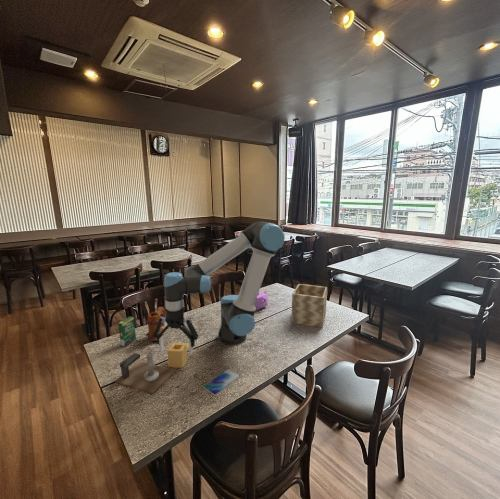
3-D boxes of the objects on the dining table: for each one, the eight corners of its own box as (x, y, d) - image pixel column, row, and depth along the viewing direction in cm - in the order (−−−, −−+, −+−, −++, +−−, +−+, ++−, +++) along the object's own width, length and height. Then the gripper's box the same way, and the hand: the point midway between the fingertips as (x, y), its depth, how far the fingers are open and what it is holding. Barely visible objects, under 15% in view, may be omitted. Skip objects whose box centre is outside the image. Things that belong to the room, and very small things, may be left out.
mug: (158, 344, 139) (156, 317, 136) (144, 342, 140) (141, 315, 137) (171, 330, 153) (170, 305, 150) (158, 328, 154) (156, 304, 151)
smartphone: (241, 375, 115) (215, 395, 103) (241, 376, 115) (215, 397, 103) (228, 367, 119) (202, 386, 108) (228, 369, 119) (202, 388, 108)
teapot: (267, 312, 175) (267, 296, 173) (247, 312, 176) (246, 296, 173) (267, 303, 190) (267, 288, 188) (248, 302, 191) (248, 288, 188)
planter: (325, 313, 172) (327, 287, 169) (322, 327, 155) (324, 298, 151) (297, 309, 179) (298, 283, 175) (291, 322, 161) (292, 293, 158)
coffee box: (124, 347, 136) (122, 323, 133) (120, 346, 137) (117, 322, 134) (136, 339, 143) (134, 316, 140) (132, 338, 144) (130, 315, 142)
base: (174, 372, 117) (173, 347, 115) (152, 394, 104) (150, 366, 102) (140, 362, 124) (137, 339, 121) (115, 382, 111) (112, 356, 109)
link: (182, 367, 120) (181, 351, 119) (168, 366, 121) (167, 350, 119) (193, 347, 136) (192, 333, 134) (180, 347, 136) (180, 332, 135)
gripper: (204, 306, 121) (205, 349, 125) (151, 303, 123) (153, 345, 127) (200, 313, 113) (201, 358, 117) (142, 309, 116) (145, 354, 120)
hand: (176, 352), depth 122 cm, fingers open, 13 cm apart
